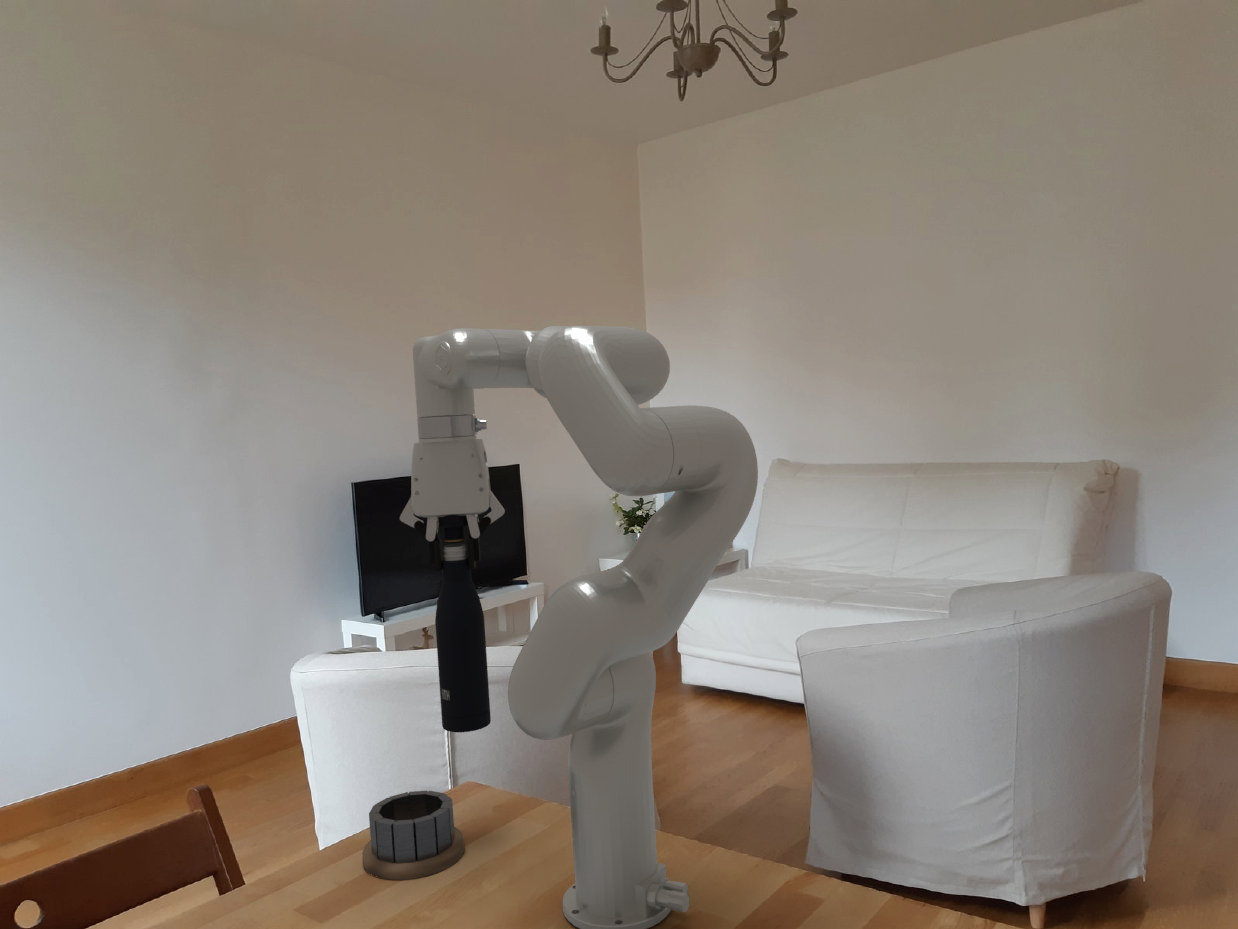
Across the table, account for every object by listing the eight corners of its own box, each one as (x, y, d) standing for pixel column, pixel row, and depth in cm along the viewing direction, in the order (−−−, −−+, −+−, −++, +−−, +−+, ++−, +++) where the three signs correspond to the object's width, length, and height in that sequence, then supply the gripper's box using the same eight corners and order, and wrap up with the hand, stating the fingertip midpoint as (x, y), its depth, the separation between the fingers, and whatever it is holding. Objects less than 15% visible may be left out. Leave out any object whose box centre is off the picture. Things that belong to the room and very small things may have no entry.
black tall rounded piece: (496, 716, 128) (482, 498, 126) (483, 732, 121) (468, 503, 120) (451, 717, 129) (436, 500, 127) (435, 733, 122) (420, 505, 121)
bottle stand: (484, 842, 125) (481, 795, 125) (420, 888, 114) (416, 836, 113) (409, 827, 131) (406, 781, 131) (341, 868, 120) (337, 819, 120)
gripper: (511, 426, 127) (519, 560, 128) (387, 433, 126) (396, 568, 127) (509, 427, 120) (518, 568, 121) (377, 434, 118) (387, 577, 119)
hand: (456, 567), depth 124 cm, fingers closed on black tall rounded piece, 3 cm apart
